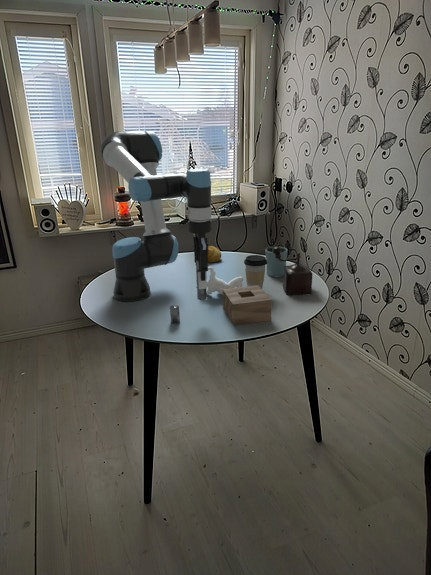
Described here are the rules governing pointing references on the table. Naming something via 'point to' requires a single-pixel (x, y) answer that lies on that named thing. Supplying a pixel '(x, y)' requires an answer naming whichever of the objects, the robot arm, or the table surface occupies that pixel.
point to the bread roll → (213, 254)
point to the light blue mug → (275, 262)
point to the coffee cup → (255, 270)
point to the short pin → (174, 314)
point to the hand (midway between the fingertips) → (201, 286)
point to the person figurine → (221, 283)
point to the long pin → (200, 292)
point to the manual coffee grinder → (295, 276)
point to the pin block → (246, 305)
